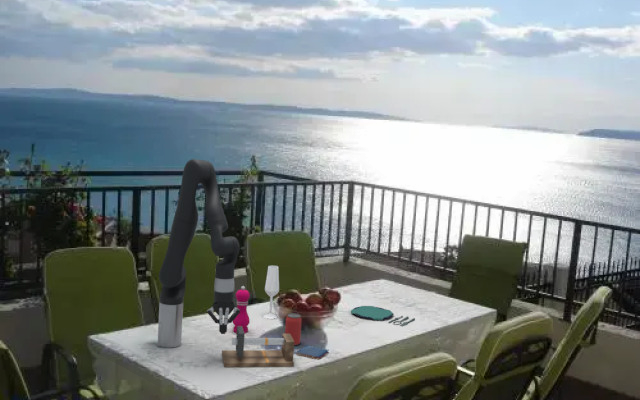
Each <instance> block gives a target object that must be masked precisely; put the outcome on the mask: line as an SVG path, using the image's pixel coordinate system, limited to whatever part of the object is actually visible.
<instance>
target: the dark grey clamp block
mask: <svg viewBox="0 0 640 400" xmlns="http://www.w3.org/2000/svg"><path fill="white" fill-rule="evenodd" d="M245 334H246V333H244V330H243V327H242V326H237V333H236V337H235V338H238V345H235V350H236V352H237V356H238V357H243V352H244V350H245V347H244V346H245V345H244V338H245Z"/></svg>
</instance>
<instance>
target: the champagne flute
mask: <svg viewBox="0 0 640 400" xmlns="http://www.w3.org/2000/svg"><path fill="white" fill-rule="evenodd" d="M267 266H268V267H267V272H266V280H265V286H264V291H265V293H266V294H267V295H268V296H269V297H270V298H269V309H268V310H269V312H268V313H266V314H265V315H263V316H262V317H263V318H264V319H267V318H268V320H269V319H270V320H273V319H274V318H275V319H277V318H278V316H277V315H276V314H274V313H273V301H274V300H273V297H275V296H277V294H278V293H279V292H280V278H279V277H280V276H279V275H280V273H279V272H280V271H279V269H280V268H279V266H278V265H267Z"/></svg>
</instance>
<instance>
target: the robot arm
mask: <svg viewBox="0 0 640 400" xmlns="http://www.w3.org/2000/svg"><path fill="white" fill-rule="evenodd" d="M200 184H201V185H202V187H203V190H204V193H205V204H204V206H205V207H204V215H205V219H206V221H207V225H208V227H209V233H210V246H211V251H212V252H213V254H214V255H215V256H217V257H223V259H222V260H220V261H218V262H216V264H215V273H214V274H215V276H214V277H215V278H214V286H213V287H214V289H213V304H212V306H211V307H210V308H207V309H206V311H207V314H208V316H209V317H210V319H212V321H213V322H214V323H215V324H218V326H219V327H218V331H219V333H220V334H221V335H225V334H226V333H227V332H228V324H233V320H234V319H235V318H236V317H237V315H238V314H239V313H240V310H239V309H237V307H236V305H235V287H236V286H235V266H236V263H237V260H238V256H239V253H240V243H239V239H237V238H236V236H230V235H229V236H223V233H224V232H226V231H227V230H228V229H229V224H228V220H227V218H226V215H225V212H224V209H223V206H222V203H221V197H220V191H219V186H218V181H217V173H216V169H215V167H214V165H213V164H212V162H211V161H209V160H203V159H196V158H192V159H189V160H188V161H187V162H186V163H185V165H184V168H183V171H182V176H181V184H180V185H181V186H180V190H179V196H178V200H177V205H176V210H175V213H174V215H173V221H172V225H171V229H170V234H169V240H168V245H167V248H166V253H165V256H164V258H163V261H162V264H161V266H160V270H159V273H158V278H159V282H160V284H161V291H160V294H159V303H158V304H159V305H158V306H159V308H158V309H159V310H158V327H157V329H158V330H157V347H161V348H171V349H172V348H177V347H180V346H181V345H182V340H183V339H182V335H183V314H184V313H183V311H184V299H185V298H184V297H185V292H186V281H187V271H186V267H185V265H184V264H185V257H186V254H187V253H188V252H187V251H188V250H189V247H191V244H192V241H193V239H194V237H195V233H196V230H197V225H198V221H199V212H198V207H197V202H196V197H197V196H196V193H197V190H198V186H199V185H200ZM214 312H215V313H216V314H217V315H218V318H217V317H216V315H215V314H214ZM232 312H233V313H232ZM231 313H232V314H231Z"/></svg>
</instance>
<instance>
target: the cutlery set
mask: <svg viewBox="0 0 640 400" xmlns="http://www.w3.org/2000/svg"><path fill="white" fill-rule="evenodd" d="M350 314H351V315H353V314H354V315H356V316H357V317H361V318H364V319H371V320H374V321H381V320H386V319H390V318H391V317H392V316H393V315H395V314H394V312H393V311H391V310H390V309H387V308H382V307H378V306H374V305H361V306H357V307H354V308H352V309H351V310H350ZM402 318H403V319H402ZM409 318H410V317H409V316H406V317H404V316H403V315H400V316H399V317H395V318H394V319H391V320H389V321H388V324H390V323H392V322H393V324H395V325H398V326H400V327H405V326H407V325H408V324H410V323H412V322H413V321H415V320H416V318H415V317H413V318H412V319H410V320H409V321H405V320H407V319H409ZM399 319H401V320H399ZM403 321H404V322H403ZM402 322H403V323H402Z"/></svg>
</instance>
